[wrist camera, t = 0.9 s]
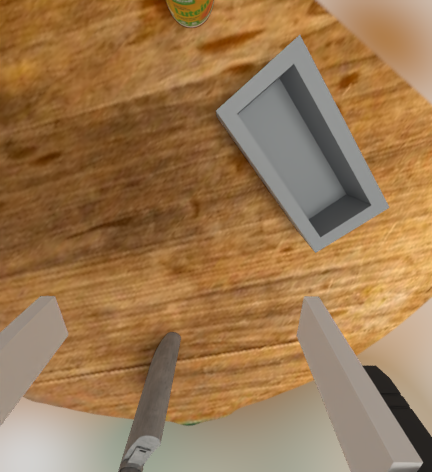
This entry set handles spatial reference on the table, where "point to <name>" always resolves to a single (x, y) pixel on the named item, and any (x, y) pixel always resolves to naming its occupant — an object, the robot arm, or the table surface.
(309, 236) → the tray
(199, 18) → the supplement bottle
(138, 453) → the hip flask
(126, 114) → the table surface
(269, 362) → the table surface
